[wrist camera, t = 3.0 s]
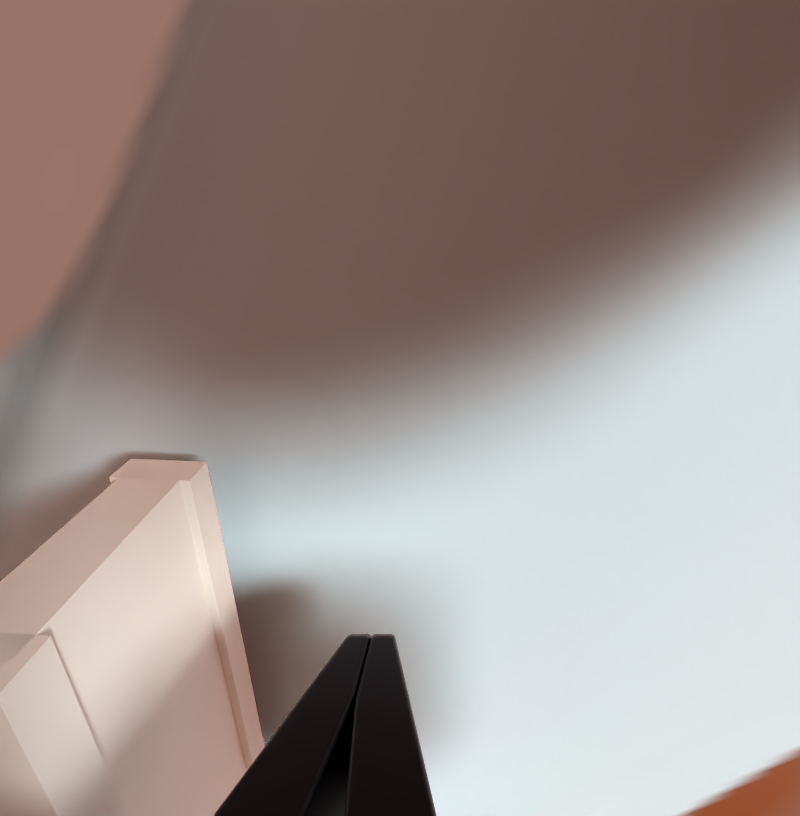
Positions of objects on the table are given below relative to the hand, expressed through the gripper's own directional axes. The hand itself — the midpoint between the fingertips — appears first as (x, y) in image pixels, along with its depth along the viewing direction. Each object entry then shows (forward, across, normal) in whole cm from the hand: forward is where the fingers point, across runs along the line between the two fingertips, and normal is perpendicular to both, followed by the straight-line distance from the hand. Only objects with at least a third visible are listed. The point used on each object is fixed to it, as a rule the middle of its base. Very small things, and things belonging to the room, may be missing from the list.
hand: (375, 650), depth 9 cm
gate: (+2, +5, +4) cm, 6 cm away
